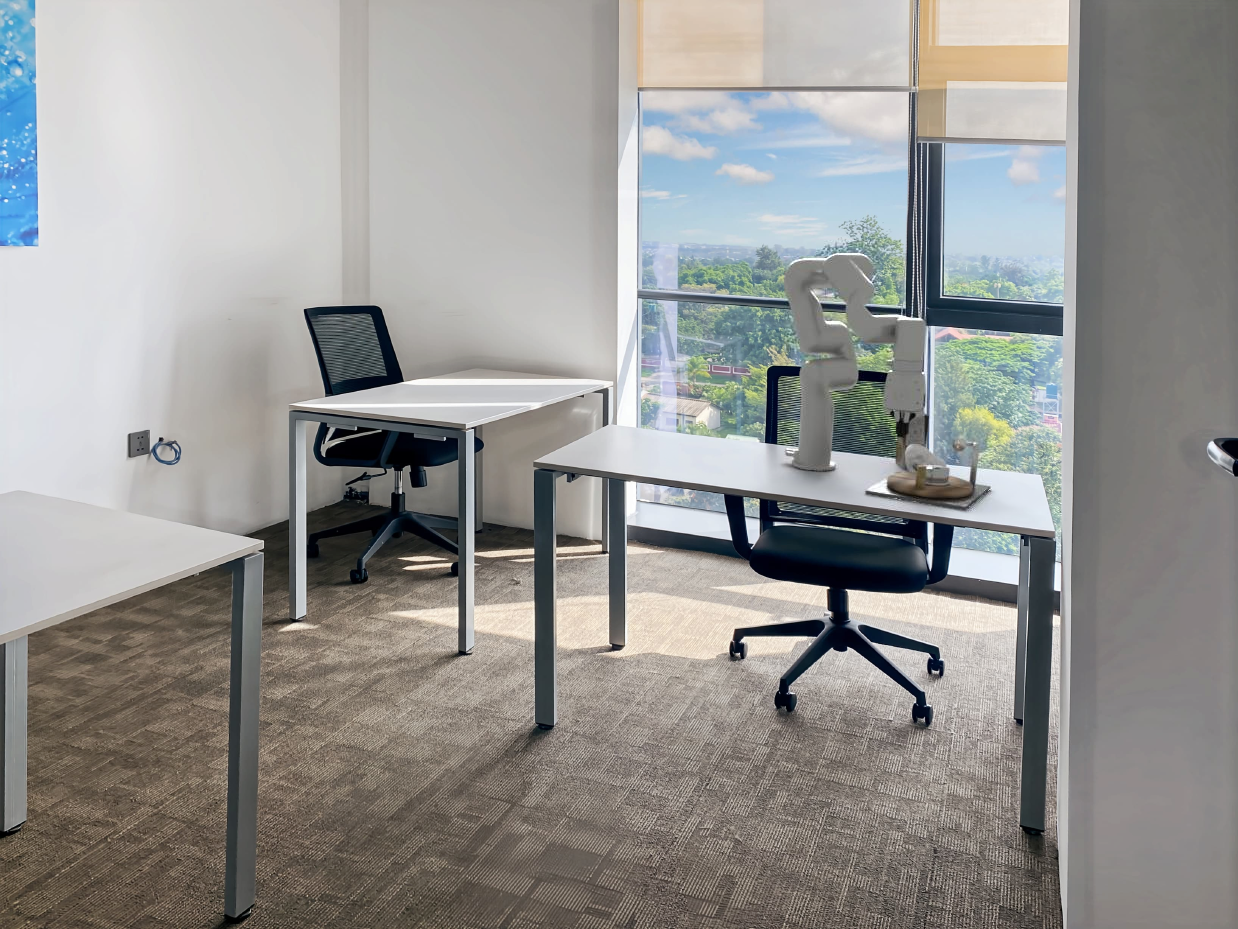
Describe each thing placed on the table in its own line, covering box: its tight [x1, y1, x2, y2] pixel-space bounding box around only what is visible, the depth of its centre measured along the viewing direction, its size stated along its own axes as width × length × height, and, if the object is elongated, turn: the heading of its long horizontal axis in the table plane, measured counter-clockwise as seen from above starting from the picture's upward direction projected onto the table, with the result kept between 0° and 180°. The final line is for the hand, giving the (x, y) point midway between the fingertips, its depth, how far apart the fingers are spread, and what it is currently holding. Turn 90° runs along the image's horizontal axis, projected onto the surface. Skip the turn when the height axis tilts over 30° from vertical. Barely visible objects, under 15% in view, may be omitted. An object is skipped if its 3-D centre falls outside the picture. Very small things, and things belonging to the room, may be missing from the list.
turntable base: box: [864, 437, 992, 511], centre depth 277 cm, size 26×26×14 cm
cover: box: [924, 465, 950, 486], centre depth 277 cm, size 8×8×4 cm
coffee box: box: [894, 411, 930, 470], centre depth 306 cm, size 9×6×16 cm
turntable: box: [886, 465, 973, 498], centre depth 278 cm, size 22×22×7 cm
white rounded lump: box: [905, 444, 947, 472], centre depth 298 cm, size 6×8×12 cm
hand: (901, 436), depth 271 cm, fingers closed
